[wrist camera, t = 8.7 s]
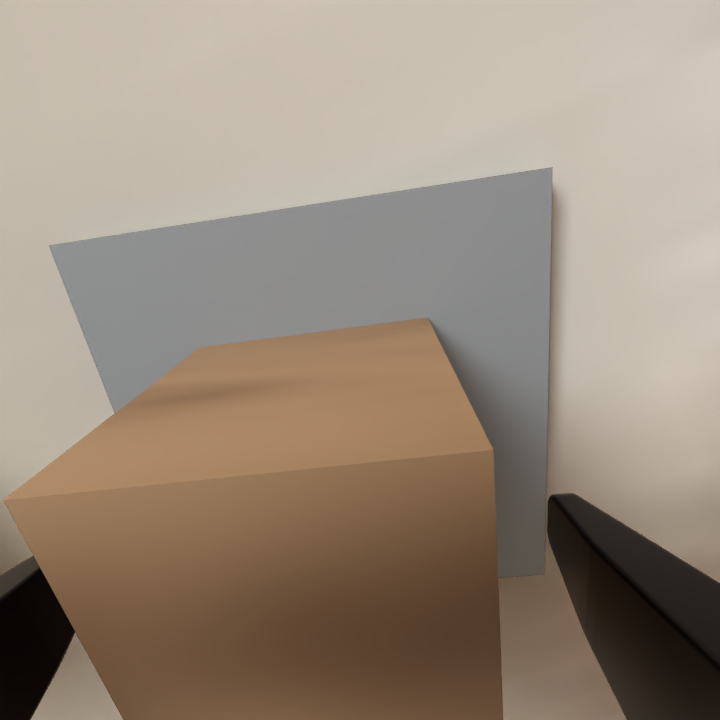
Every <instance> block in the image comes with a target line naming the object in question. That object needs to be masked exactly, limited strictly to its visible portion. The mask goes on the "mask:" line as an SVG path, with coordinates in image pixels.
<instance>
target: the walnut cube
mask: <svg viewBox="0 0 720 720" xmlns="http://www.w3.org/2000/svg"><path fill="white" fill-rule="evenodd" d="M3 501H4V503H5V504H6V506H7V508H8V510H9V512H10V514H11V515H12V517H13V519H14V521H15V523H16V524H17V526H18V528H19V530H20V532H21V534H22V535H23V537H24V539H25V541H26V543H27V545H28V546H29V548H30V550H31V552H32V554H33V555H34V557H35V559H36V561H37V563H38V565H39V566H40V568H41V570H42V572H43V574H44V576H45V577H46V579H47V581H48V583H49V585H50V586H51V588H52V590H53V592H54V594H55V596H56V597H57V599H58V601H59V603H60V605H61V607H62V608H63V610H64V612H65V614H66V616H67V617H68V619H69V621H70V623H71V625H72V627H73V628H74V630H75V632H76V634H77V636H78V638H79V639H80V641H81V643H82V645H83V647H84V648H85V650H86V652H87V654H88V656H89V658H90V659H91V661H92V663H93V665H94V667H95V669H96V670H97V672H98V674H99V676H100V678H101V679H102V681H103V683H104V685H105V687H106V689H107V690H108V692H109V694H110V696H111V698H112V700H113V701H114V703H115V705H116V707H117V709H118V710H119V712H120V714H121V716H122V718H123V720H503V702H502V674H501V646H500V618H499V590H498V562H497V535H496V507H495V479H494V451H493V448H492V446H491V444H490V442H489V440H488V438H487V436H486V434H485V432H484V430H483V428H482V426H481V424H480V422H479V420H478V418H477V416H476V414H475V412H474V410H473V408H472V406H471V404H470V402H469V400H468V398H467V396H466V394H465V392H464V390H463V388H462V386H461V384H460V382H459V380H458V378H457V376H456V374H455V372H454V370H453V368H452V366H451V364H450V362H449V360H448V358H447V356H446V354H445V352H444V350H443V348H442V346H441V344H440V342H439V340H438V338H437V336H436V333H435V331H434V329H433V327H432V325H431V323H430V321H429V319H428V317H427V318H419V319H412V320H404V321H396V322H389V323H381V324H373V325H366V326H358V327H351V328H343V329H335V330H328V331H320V332H312V333H305V334H297V335H290V336H282V337H274V338H267V339H259V340H251V341H244V342H236V343H229V344H221V345H213V346H206V347H200V348H198V349H197V350H196V351H195V352H193V353H192V354H191V355H189V356H188V357H187V358H186V359H184V360H183V361H182V362H180V363H179V364H178V365H177V366H175V367H174V368H173V369H171V370H170V371H169V372H168V373H166V374H165V375H164V376H162V377H161V378H160V379H159V380H157V381H156V382H155V383H153V384H152V385H151V386H150V387H148V388H147V389H146V390H144V391H143V392H142V393H141V394H139V395H138V396H137V397H135V398H134V399H133V400H132V401H130V402H129V403H128V404H126V405H125V406H124V407H123V408H121V409H120V410H119V411H117V412H116V413H115V414H114V415H112V416H111V417H110V418H108V419H107V420H106V421H105V422H103V423H102V424H101V425H99V426H98V427H97V428H95V429H94V430H93V431H92V432H90V433H89V434H88V435H86V436H85V437H84V438H83V439H81V440H80V441H79V442H77V443H76V444H75V445H74V446H72V447H71V448H70V449H68V450H67V451H66V452H65V453H63V454H62V455H61V456H59V457H58V458H57V459H56V460H54V461H53V462H52V463H50V464H49V465H48V466H47V467H45V468H44V469H43V470H41V471H40V472H39V473H38V474H36V475H35V476H34V477H32V478H31V479H30V480H29V481H27V482H26V483H25V484H23V485H22V486H21V487H20V488H18V489H17V490H16V491H14V492H13V493H12V494H11V495H9V496H8V497H7V498H5V499H4V500H3Z"/></svg>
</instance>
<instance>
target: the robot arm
mask: <svg viewBox="0 0 720 720" xmlns="http://www.w3.org/2000/svg"><path fill="white" fill-rule="evenodd" d="M547 532H548V538H549V542H550V545H551V548H552V551H553V553H554V556H555V558H556V561H557V564H558V566H559V569H560V572H561V574H562V577H563V579H564V582H565V585H566V587H567V590H568V592H569V595H570V598H571V600H572V603H573V606H574V608H575V611H576V613H577V616H578V619H579V621H580V624H581V626H582V629H583V631H584V633H585V636H586V638H587V640H588V642H589V644H590V646H591V648H592V650H593V652H594V654H595V656H596V658H597V660H598V662H599V664H600V666H601V668H602V671H603V673H604V675H605V677H606V679H607V681H608V683H609V685H610V687H611V689H612V691H613V693H614V695H615V697H616V699H617V701H618V703H619V705H620V707H621V709H622V711H623V713H624V715H625V717H626V719H627V720H720V583H719V582H717V581H716V580H714V579H712V578H711V577H709V576H707V575H706V574H704V573H703V572H701V571H699V570H698V569H696V568H694V567H693V566H691V565H690V564H688V563H686V562H685V561H683V560H681V559H680V558H678V557H677V556H675V555H673V554H672V553H670V552H668V551H667V550H665V549H664V548H662V547H660V546H659V545H657V544H655V543H654V542H652V541H651V540H649V539H647V538H646V537H644V536H642V535H641V534H639V533H638V532H636V531H634V530H633V529H631V528H629V527H628V526H626V525H625V524H623V523H621V522H620V521H618V520H616V519H615V518H613V517H612V516H610V515H608V514H607V513H605V512H603V511H602V510H600V509H599V508H597V507H595V506H594V505H592V504H590V503H589V502H587V501H586V500H584V499H582V498H581V497H579V496H577V495H575V494H573V493H566V494H555V495H551V496H550V497H549V500H548V524H547ZM74 634H75V630H74V628H73V627H72V625H71V623H70V621H69V619H68V617H67V616H66V614H65V612H64V610H63V608H62V607H61V605H60V603H59V601H58V599H57V597H56V596H55V594H54V592H53V590H52V588H51V586H50V585H49V583H48V581H47V579H46V577H45V576H44V574H43V572H42V570H41V568H40V566H39V565H38V563H37V561H36V559H35V557H34V556H32V557H30V558H29V559H27V560H25V561H24V562H22V563H20V564H19V565H17V566H15V567H14V568H12V569H10V570H9V571H7V572H5V573H4V574H2V575H0V720H31V718H32V716H33V714H34V712H35V711H36V709H37V707H38V705H39V703H40V701H41V700H42V698H43V696H44V694H45V692H46V691H47V689H48V687H49V685H50V683H51V681H52V679H53V678H54V676H55V674H56V672H57V670H58V668H59V666H60V664H61V662H62V660H63V658H64V656H65V653H66V651H67V649H68V647H69V645H70V642H71V640H72V638H73V636H74Z"/></svg>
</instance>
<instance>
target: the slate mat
mask: <svg viewBox="0 0 720 720" xmlns="http://www.w3.org/2000/svg"><path fill="white" fill-rule="evenodd" d="M551 217H552V167H551V168H545V169H539V170H532V171H526V172H519V173H513V174H506V175H500V176H493V177H487V178H480V179H474V180H468V181H461V182H455V183H448V184H442V185H435V186H429V187H422V188H416V189H410V190H403V191H397V192H390V193H384V194H377V195H371V196H364V197H358V198H352V199H345V200H339V201H332V202H326V203H319V204H313V205H306V206H300V207H294V208H287V209H281V210H274V211H268V212H261V213H255V214H248V215H242V216H236V217H229V218H223V219H216V220H210V221H203V222H197V223H190V224H184V225H178V226H171V227H165V228H158V229H152V230H145V231H139V232H132V233H126V234H120V235H113V236H107V237H100V238H94V239H87V240H81V241H74V242H68V243H62V244H55V245H49V248H50V250H51V253H52V255H53V258H54V260H55V263H56V265H57V268H58V271H59V273H60V276H61V278H62V281H63V283H64V286H65V288H66V291H67V293H68V296H69V298H70V301H71V304H72V306H73V309H74V311H75V314H76V316H77V319H78V321H79V324H80V326H81V329H82V331H83V334H84V337H85V339H86V342H87V344H88V347H89V349H90V352H91V354H92V357H93V359H94V362H95V364H96V367H97V370H98V372H99V375H100V377H101V380H102V382H103V385H104V387H105V390H106V392H107V395H108V397H109V400H110V403H111V405H112V408H113V410H114V413H116V412H117V411H119V410H120V409H121V408H123V407H124V406H125V405H126V404H128V403H129V402H130V401H132V400H133V399H134V398H135V397H137V396H138V395H139V394H141V393H142V392H143V391H144V390H146V389H147V388H148V387H150V386H151V385H152V384H153V383H155V382H156V381H157V380H159V379H160V378H161V377H162V376H164V375H165V374H166V373H168V372H169V371H170V370H171V369H173V368H174V367H175V366H177V365H178V364H179V363H180V362H182V361H183V360H184V359H186V358H187V357H188V356H189V355H191V354H192V353H193V352H195V351H196V350H197V349H198V348H200V347H206V346H213V345H221V344H229V343H236V342H244V341H251V340H259V339H267V338H274V337H282V336H290V335H297V334H305V333H312V332H320V331H328V330H335V329H343V328H351V327H358V326H366V325H373V324H381V323H389V322H396V321H404V320H412V319H419V318H427V317H428V319H429V321H430V323H431V325H432V327H433V329H434V331H435V333H436V336H437V338H438V340H439V342H440V344H441V346H442V348H443V350H444V352H445V354H446V356H447V358H448V360H449V362H450V364H451V366H452V368H453V370H454V372H455V374H456V376H457V378H458V380H459V382H460V384H461V386H462V388H463V390H464V392H465V394H466V396H467V398H468V400H469V402H470V404H471V406H472V408H473V410H474V412H475V414H476V416H477V418H478V420H479V422H480V424H481V426H482V428H483V430H484V432H485V434H486V436H487V438H488V440H489V442H490V444H491V446H492V448H493V451H494V479H495V507H496V535H497V562H498V578H505V577H518V576H531V575H544V572H545V521H546V471H547V420H548V369H549V319H550V268H551Z"/></svg>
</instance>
